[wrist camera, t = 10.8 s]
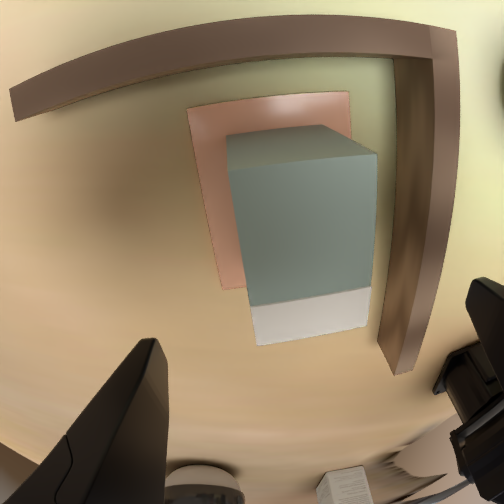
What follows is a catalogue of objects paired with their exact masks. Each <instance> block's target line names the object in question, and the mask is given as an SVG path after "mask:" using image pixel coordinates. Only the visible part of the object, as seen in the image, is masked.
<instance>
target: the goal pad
mask: <svg viewBox="0 0 504 504" xmlns="http://www.w3.org/2000/svg"><path fill="white" fill-rule="evenodd" d="M187 114H188V120H189V126H190V131H191V137H192V142H193V148H194V153H195V158H196V164H197V169H198V174H199V179H200V185H201V190H202V195H203V200H204V205H205V210H206V215H207V220H208V224H209V229H210V234H211V239H212V244H213V248H214V253H215V258H216V262H217V267H218V272H219V276H220V281H221V285H222V290H226V289H233V288H240V287H247V285H246V279H245V273H244V267H243V261H242V255H241V249H240V243H239V237H238V231H237V225H236V219H235V213H234V207H233V201H232V195H231V189H230V182H229V176H228V168H227V146H226V135H232V134H239V133H246V132H253V131H261V130H269V129H278V128H287V127H297V126H308V125H320V124H323V125H325V126H327V127H329V128H330V129H332V130H334V131H336V132H338V133H340V134H342V135H344V136H346V137H348V138H349V139H351V121H350V105H349V91H334V92H314V93H299V94H286V95H276V96H266V97H257V98H249V99H241V100H234V101H227V102H221V103H215V104H209V105H203V106H197V107H192V108H187Z"/></svg>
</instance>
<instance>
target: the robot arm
mask: <svg viewBox="0 0 504 504" xmlns="http://www.w3.org/2000/svg"><path fill="white" fill-rule="evenodd" d="M465 304H466V309H467V311H468V313H469V316H470V318H471V320H472V323H473V325H474V327H475V330H476V332H477V335H478V337H479V340H480V343H477V344H475V345H472V346H470V347H467V348H464V349H462V350H459V351H456V352H454V353H452V354H450V355H449V357H448V359H447V361H446V363H445V365H444V368H443V370H442V372H441V374H440V376H439V379H438V381H437V383H436V385H435V387H434V389H433V394H434V395H437V394H440V393H442V392H445V391H446V392H447V394H448V396H449V398H450V399H451V401H452V403H453V405H454V407H455V409H456V411H457V413H458V415H459V417H460V419H461V421H462V423H463V425H461V426H460V427H459V428H457V429H456V430H453V431H451V432H450V435H451V437H450V438H449V439H450V441H451V443H452V445H453V448H454V451H455V455H456V459H457V465H458V471H459V474H460V475H461V476H465V477H466V478H467V480H468V481H469V482H470V483H471V484H474V483H475V484H476V487H477V489H478V491H479V494H480V496H481V497H482V498H484V499H485V500H487V501H493V502H495V503H497V504H504V286H503V285H501V284H499V283H497V282H495V281H492V280H490V279H488V278H486V277H480V278H476V279H474V280H473V281H472V282H471V285H470V288H469V291H468V295H467V298H466V302H465ZM168 427H169V395H168V363H167V359H166V357H165V354H164V352H163V350H162V348H161V346H160V343H159V341H158V340H157V339H156V338H145V339H141V340H140V341H139V342H138V343H137V344H136V346H135V347H134V348H133V349H132V350H131V352H130V353H129V354H128V355H127V357H126V358H125V359H124V360H123V362H122V363H121V364H120V365H119V366H118V368H117V369H116V370H115V371H114V373H113V374H112V375H111V376H110V378H109V379H108V380H107V381H106V383H105V384H104V385H103V386H102V387H101V389H100V390H99V391H98V392H97V394H96V395H95V396H94V398H93V399H92V400H91V401H90V403H89V404H88V405H87V406H86V408H85V409H84V410H83V411H82V413H81V414H80V415H79V416H78V418H77V419H76V420H75V422H74V423H73V424H72V425H71V427H70V428H69V429H68V431H67V432H66V435H64V436H63V437H62V438H61V439H60V441H59V442H58V443H57V445H56V446H55V447H54V448H53V450H52V451H51V452H50V453H49V454H48V456H47V457H46V458H45V459H44V460H43V462H42V463H41V464H40V465H39V466H38V467H37V468H36V469H35V471H34V472H33V473H32V474H31V475H30V476H29V477H28V478H27V479H26V480H25V481H24V482H23V483H22V484H21V486H19V488H18V489H17V490H16V491H15V492H14V493H13V494H12V495H11V496H10V497H9V498H8V499H7V500H6V501H5V502H4V503H2V504H164V497H165V474H166V456H167V441H168Z"/></svg>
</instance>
